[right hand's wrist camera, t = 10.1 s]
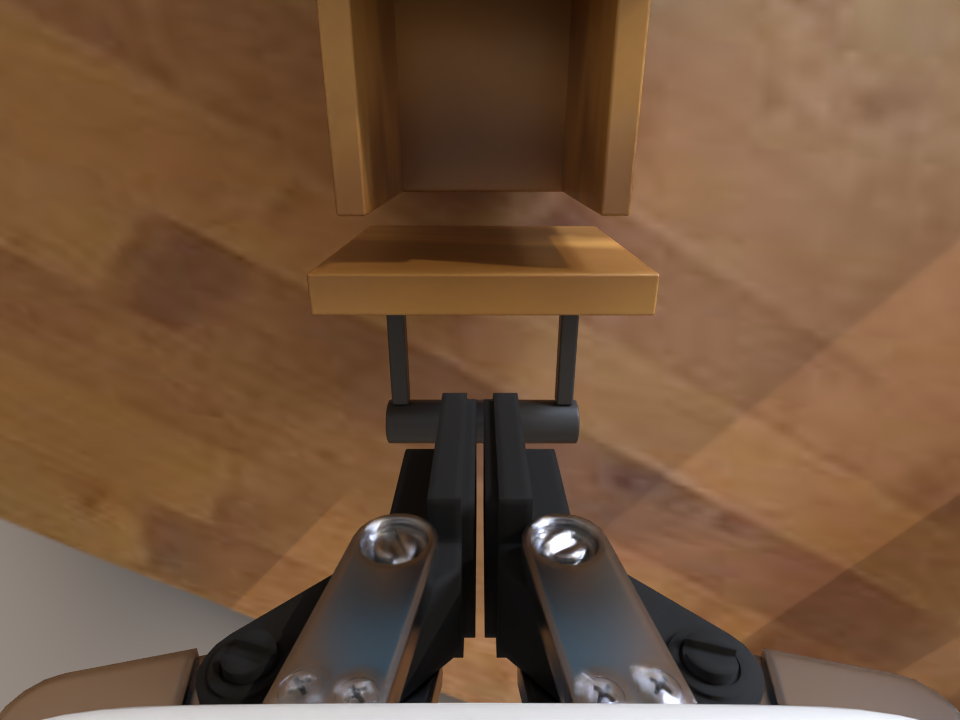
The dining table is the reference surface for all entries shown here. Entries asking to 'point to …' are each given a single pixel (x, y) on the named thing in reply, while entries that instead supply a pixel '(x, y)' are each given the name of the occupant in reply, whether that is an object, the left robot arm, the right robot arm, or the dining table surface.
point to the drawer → (483, 172)
